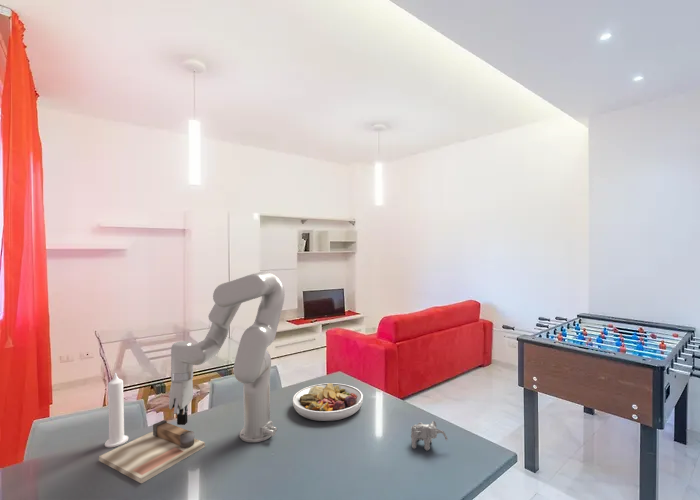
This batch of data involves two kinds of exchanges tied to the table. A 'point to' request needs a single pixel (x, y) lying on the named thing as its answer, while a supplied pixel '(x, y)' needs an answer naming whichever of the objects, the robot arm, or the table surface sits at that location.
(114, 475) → the table surface
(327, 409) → the bowl
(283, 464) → the table surface
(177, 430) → the bar
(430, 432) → the gray elephant figurine
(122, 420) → the candle
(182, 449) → the ash board
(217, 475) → the table surface
